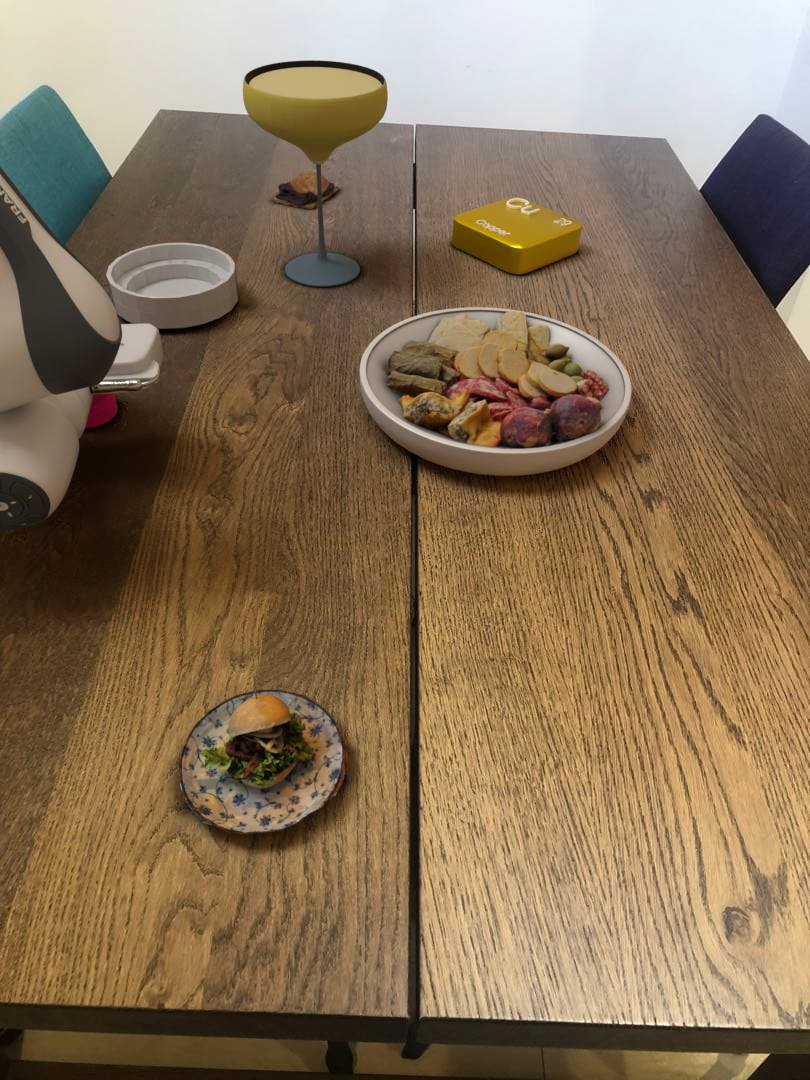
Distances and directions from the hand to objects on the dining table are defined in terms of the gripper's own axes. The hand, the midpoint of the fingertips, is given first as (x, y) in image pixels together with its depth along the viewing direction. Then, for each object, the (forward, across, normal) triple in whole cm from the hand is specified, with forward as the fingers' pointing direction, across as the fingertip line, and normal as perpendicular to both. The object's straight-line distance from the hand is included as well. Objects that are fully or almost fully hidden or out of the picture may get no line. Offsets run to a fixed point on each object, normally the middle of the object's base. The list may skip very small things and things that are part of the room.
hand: (65, 318), depth 84 cm
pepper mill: (-1, 0, +11) cm, 11 cm away
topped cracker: (+62, -27, +11) cm, 69 cm away
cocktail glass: (+33, -28, +11) cm, 45 cm away
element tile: (+39, -58, +11) cm, 71 cm away
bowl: (-4, -45, +11) cm, 47 cm away
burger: (-48, -19, +11) cm, 53 cm away
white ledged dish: (+24, -8, +11) cm, 28 cm away
